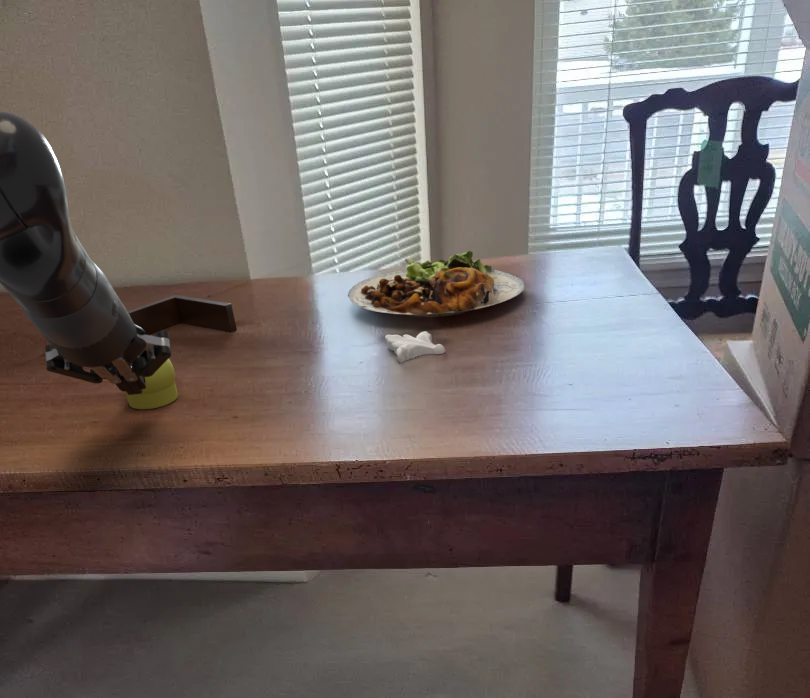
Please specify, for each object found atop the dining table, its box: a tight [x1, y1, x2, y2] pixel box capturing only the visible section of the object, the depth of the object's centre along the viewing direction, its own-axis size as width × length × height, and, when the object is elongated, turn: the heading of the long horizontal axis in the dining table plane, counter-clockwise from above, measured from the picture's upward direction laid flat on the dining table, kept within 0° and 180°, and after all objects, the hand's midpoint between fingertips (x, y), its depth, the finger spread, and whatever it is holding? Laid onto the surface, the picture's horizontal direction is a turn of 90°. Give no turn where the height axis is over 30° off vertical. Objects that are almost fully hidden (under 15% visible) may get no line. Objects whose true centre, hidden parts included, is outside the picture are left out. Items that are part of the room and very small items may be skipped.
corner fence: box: [127, 294, 237, 335], centre depth 110 cm, size 13×13×4 cm
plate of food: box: [347, 250, 526, 318], centre depth 115 cm, size 28×28×6 cm
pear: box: [124, 356, 179, 410], centre depth 88 cm, size 7×7×9 cm
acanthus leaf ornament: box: [384, 330, 446, 364], centre depth 98 cm, size 8×7×2 cm
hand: (135, 386), depth 83 cm, fingers closed
